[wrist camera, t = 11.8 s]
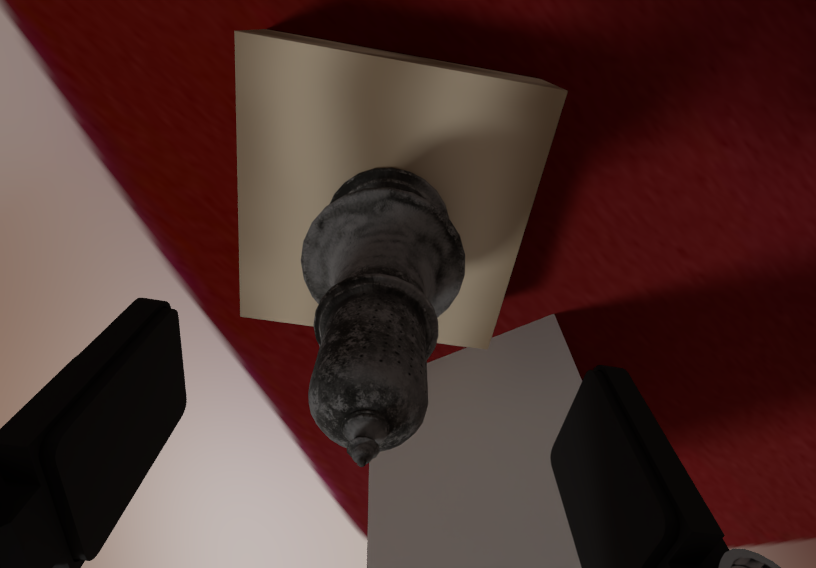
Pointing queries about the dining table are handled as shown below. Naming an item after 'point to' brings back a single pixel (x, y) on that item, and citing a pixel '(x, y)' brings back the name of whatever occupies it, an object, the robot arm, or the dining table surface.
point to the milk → (480, 462)
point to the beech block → (382, 161)
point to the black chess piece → (378, 306)
